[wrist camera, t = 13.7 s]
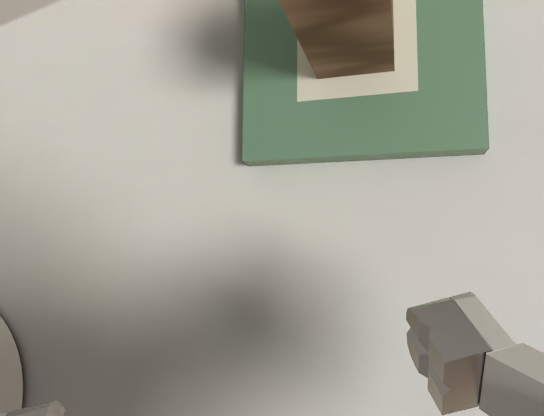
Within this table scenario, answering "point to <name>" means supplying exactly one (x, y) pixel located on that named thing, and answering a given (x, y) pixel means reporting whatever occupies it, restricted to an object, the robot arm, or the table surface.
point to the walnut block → (344, 35)
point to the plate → (367, 91)
